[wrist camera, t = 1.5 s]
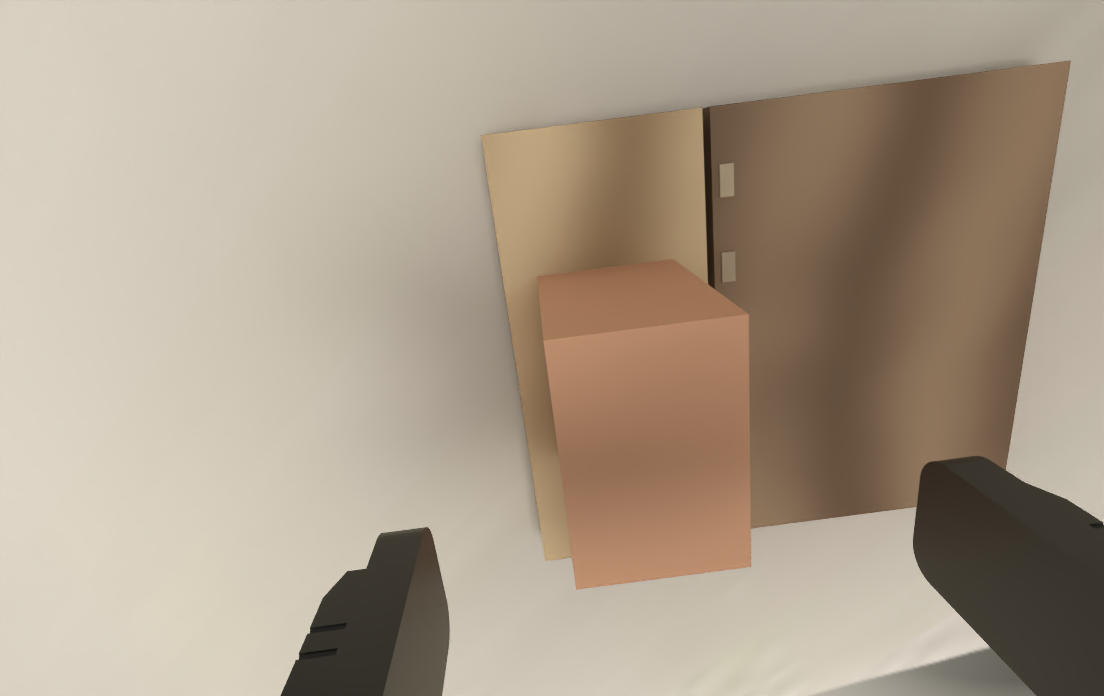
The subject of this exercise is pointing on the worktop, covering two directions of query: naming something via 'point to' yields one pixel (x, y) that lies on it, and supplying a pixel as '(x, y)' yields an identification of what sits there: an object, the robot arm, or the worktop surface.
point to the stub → (624, 347)
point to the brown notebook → (880, 276)
